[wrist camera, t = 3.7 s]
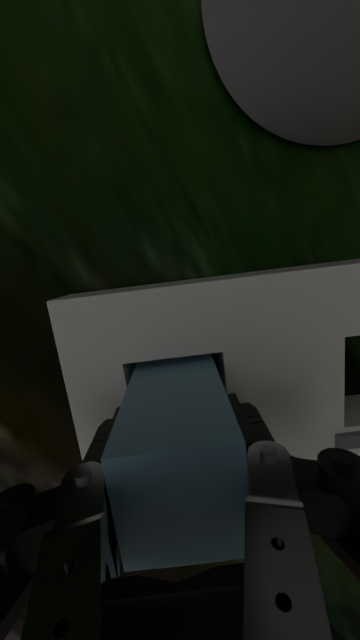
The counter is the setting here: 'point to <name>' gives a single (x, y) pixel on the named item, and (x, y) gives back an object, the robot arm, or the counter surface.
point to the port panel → (224, 346)
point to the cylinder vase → (290, 64)
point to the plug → (176, 467)
